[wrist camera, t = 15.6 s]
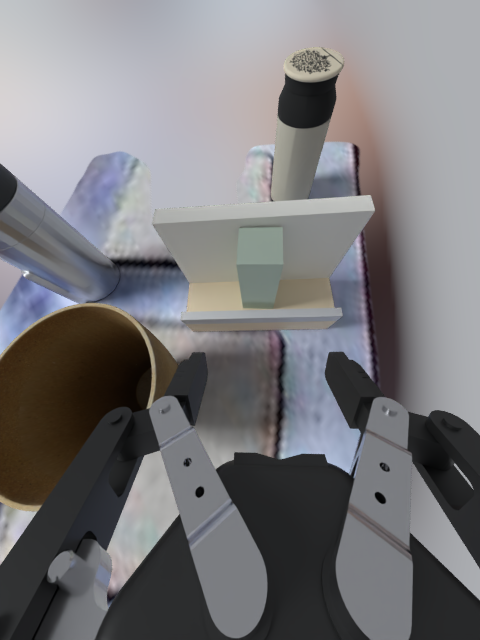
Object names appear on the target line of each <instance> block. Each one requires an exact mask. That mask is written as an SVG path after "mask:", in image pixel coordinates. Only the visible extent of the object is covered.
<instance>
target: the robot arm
mask: <svg viewBox="0 0 480 640" xmlns="http://www.w3.org/2000/svg"><path fill="white" fill-rule="evenodd" d="M0 259H1V260H3V261H5V262H7V263H9V264H11V265H13V266H15V267H17V268H19V269H20V270H21V272H22V274H23V276H24V277H25V278H26V279H28V280H30V281H32V282H34V283H36V284H38V285H40V286H43V287H45V288H47V289H49V290H51V291H53V292H55V293H57V294H59V295H61V296H64V297H66V298H68V299H70V300H72V301H74V302H76V303H78V304H83V303H87V302H93V301H98V300H100V299H103V298H105V297H106V296H108V295H109V294H110V293H111V292H112V291H113V290H114V289H115V287H116V286H117V284H118V281H119V276H120V273H119V269H118V267H117V266H116V265H115V264H114V263H113V262H112V261H111V260H110V259H109V258H108V257H106V256H105V255H104V254H103V253H102V252H101V251H99V250H98V249H97V248H96V247H95V246H94V245H93V244H92V243H90V242H89V241H88V240H87V239H86V238H85V237H84V236H82V235H81V234H80V233H79V232H78V231H77V230H76V229H74V228H73V227H72V226H71V225H70V224H69V223H68V222H66V221H65V220H64V219H63V218H62V217H61V216H60V215H59V214H57V213H56V212H55V211H54V210H53V209H51V207H49V206H48V205H47V204H46V203H45V202H44V201H43V200H41V199H40V198H39V197H38V196H37V195H36V194H35V193H33V192H32V191H31V190H30V189H29V188H28V187H26V186H25V185H24V184H23V183H22V182H21V181H20V180H19V179H17V178H16V177H15V176H14V175H13V174H12V173H11V172H10V171H8V170H7V169H6V168H5V167H4V166H3V165H1V164H0ZM207 375H208V372H207V364H206V357H205V353H204V352H193V353H192V355H191V357H190V359H189V360H184V361H183V362H182V363H181V364H180V365H179V366H178V368H177V370H176V373H175V374H174V376H173V378H172V380H171V382H170V384H169V386H168V388H167V390H166V392H165V394H164V396H163V397H161V398H159V399H158V400H156V401H155V402H154V403H153V404H152V405H151V407H150V408H148V409H145V410H141V411H137V412H134V413H132V411H131V409H130V408H128V407H119V408H116V409H114V410H112V411H110V412H109V413H107V414H106V415H105V416H104V417H103V418H102V419H101V421H100V422H99V424H98V425H97V426H96V428H95V429H94V431H93V432H92V434H91V435H90V437H89V438H88V439H87V441H86V442H85V444H84V445H83V447H82V448H81V450H80V451H79V452H78V454H77V455H76V457H75V458H74V460H73V461H72V463H71V464H70V466H69V467H68V468H67V470H66V471H65V473H64V474H63V476H62V477H61V479H60V480H59V481H58V483H57V484H56V486H55V487H54V489H53V490H52V492H51V493H50V494H49V496H48V497H47V499H46V500H45V502H44V503H43V505H42V506H41V507H40V509H39V510H38V512H37V513H36V515H35V516H34V518H33V519H32V521H31V522H30V523H29V525H28V526H27V528H26V529H25V531H24V532H23V534H22V535H21V536H20V538H19V539H18V541H17V542H16V544H15V545H14V547H13V548H12V549H11V551H10V552H9V554H8V555H7V557H6V558H5V560H4V561H3V562H2V564H1V565H0V640H480V600H479V599H478V598H477V597H476V596H475V595H473V593H472V592H471V591H469V590H468V589H467V588H466V587H465V586H464V585H463V584H462V583H461V582H460V581H459V580H458V579H457V578H456V577H455V576H454V575H453V574H452V573H451V572H450V571H449V570H448V569H447V568H446V567H445V566H444V565H443V564H442V563H441V562H440V561H438V559H437V558H435V556H433V555H432V554H431V553H430V552H429V551H428V550H427V549H426V548H425V547H424V546H423V545H422V544H421V543H420V542H419V541H418V540H417V539H416V538H415V537H414V536H413V535H412V534H411V533H410V507H411V476H412V475H411V474H412V462H413V464H414V465H415V467H416V468H417V470H418V471H419V473H420V475H421V476H422V478H423V479H424V481H425V482H426V484H427V486H428V487H429V489H430V490H431V492H432V493H433V495H434V497H435V498H436V500H437V501H438V503H439V505H440V506H441V508H442V509H443V511H444V512H445V514H446V515H447V517H448V519H449V520H450V522H451V524H452V525H453V527H454V528H455V530H456V532H457V533H458V535H459V536H460V538H461V539H462V541H463V543H464V544H465V546H466V547H467V549H468V551H469V552H470V554H471V555H472V557H473V558H474V560H475V562H476V563H477V565H478V566H479V568H480V435H479V434H478V433H477V432H476V431H475V430H474V429H473V428H472V427H471V426H470V425H468V424H467V423H466V422H465V421H464V420H462V419H460V418H459V417H457V416H455V415H453V414H451V413H448V412H445V411H439V410H435V411H432V412H431V413H430V415H429V416H428V417H426V416H422V415H418V414H414V413H410V412H407V410H406V409H405V408H404V407H403V406H402V405H401V404H399V403H398V402H396V401H394V400H392V399H389V398H386V397H385V396H384V395H383V393H382V392H381V391H380V390H379V388H378V387H377V386H376V384H375V383H374V382H373V381H372V379H371V378H370V377H369V376H368V374H367V373H365V371H364V369H363V368H362V367H361V365H359V364H358V363H356V362H355V361H353V360H349V359H348V357H347V356H346V355H345V353H344V352H329V355H328V359H327V364H326V369H325V377H326V381H327V383H328V385H329V387H330V389H331V391H332V393H333V395H334V397H335V399H336V401H337V403H338V405H339V407H340V409H341V411H342V413H343V415H344V417H345V419H346V421H347V423H348V425H349V427H350V428H352V429H359V430H360V432H361V434H360V437H359V440H358V444H357V447H356V451H355V455H354V458H353V462H352V466H351V469H350V472H349V474H348V473H347V472H345V471H344V470H342V469H340V468H339V467H337V466H335V465H332V464H330V463H327V460H326V457H325V454H300V455H296V456H293V457H289V458H286V459H282V460H278V459H275V458H271V457H268V456H265V455H261V454H258V453H237V452H235V453H234V460H232V461H229V462H227V463H225V464H223V465H221V466H220V467H218V468H217V469H216V470H215V468H214V466H213V464H212V462H211V460H210V458H209V456H208V454H207V452H206V450H205V448H204V446H203V444H202V443H201V441H200V439H199V437H198V435H197V433H196V431H195V429H194V428H193V427H191V426H195V423H196V419H197V415H198V411H199V408H200V404H201V400H202V397H203V393H204V389H205V385H206V382H207ZM159 450H160V451H161V455H162V458H163V461H164V464H165V468H166V471H167V474H168V477H169V481H170V484H171V487H172V490H173V494H174V497H175V500H176V503H177V507H178V510H179V513H180V514H179V515H178V517H177V518H176V519H175V521H174V522H173V523H172V524H171V526H170V527H169V528H168V529H167V531H166V532H165V533H164V535H163V536H162V537H161V538H160V540H159V541H158V542H157V544H156V545H155V546H154V547H153V549H152V550H151V551H150V552H149V554H148V555H147V556H146V558H145V559H144V560H143V561H142V563H141V564H140V565H139V567H138V568H137V569H136V570H135V572H134V573H133V574H132V576H131V577H130V578H129V579H128V581H127V582H126V583H125V584H124V586H123V587H122V588H121V590H120V591H119V593H118V594H117V596H116V597H115V599H114V600H113V602H112V604H111V605H110V607H109V609H108V606H107V590H108V585H109V581H110V577H111V572H112V560H111V557H110V555H109V554H108V553H107V552H106V550H107V548H108V545H109V543H110V540H111V538H112V535H113V533H114V530H115V528H116V525H117V523H118V520H119V518H120V515H121V513H122V510H123V508H124V505H125V502H126V500H127V497H128V495H129V492H130V490H131V487H132V485H133V482H134V480H135V477H136V475H137V472H138V470H139V467H140V465H141V462H142V460H143V457H144V455H147V454H150V453H153V452H156V451H159ZM454 463H455V464H456V465H457V466H458V467H459V469H460V470H461V471H462V472H463V473H464V475H465V476H466V477H467V478H468V480H469V481H470V482H471V484H472V486H473V489H474V490H473V489H472V488H471V486H470V485H469V484H468V483H467V481H466V480H465V479H464V478H463V476H462V475H461V474H460V472H459V471H458V470H457V469H456V467H455V466H454V465H453V464H454Z"/></svg>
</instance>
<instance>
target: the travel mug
mask: <svg viewBox="0 0 480 640" xmlns="http://www.w3.org/2000/svg"><path fill="white" fill-rule="evenodd" d="M343 66H344V58H343V56H342V55H341V54H340V53H338V52H337V51H334V50H332V49H328V48H320V47H313V48H306V49H302V50H299V51H296V52H294V53H292V54H291V55H290V56H288V58H287V59H286V60H285V62H284V72H285V85H284V88H283V90H282V92H281V94H280V97H279V105H278V117H277V129H276V140H275V152H274V164H273V176H272V188H271V197H272V199H273V201H290V200H305V199H308V197H309V194H310V190H311V187H312V183H313V180H314V176H315V173H316V169H317V165H318V162H319V158H320V155H321V151H322V148H323V144H324V141H325V137H326V134H327V130H328V126H329V123H330V119H331V116H332V112H333V109H334V105H335V102H336V90H335V89H336V88H335V83H336V80H337V78H338V75H339V73H340V72H341V70H342V69H343Z"/></svg>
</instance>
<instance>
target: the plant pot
mask: <svg viewBox="0 0 480 640" xmlns="http://www.w3.org/2000/svg"><path fill="white" fill-rule="evenodd" d="M177 368H178V365H177V363H176V361H175V360H174V358H173V357H172V355H171V354H170V353H169V351H168V350H167V349H166V348H165V346H164V345H163V344H162V343H161V342H160V341H159V340H158V339H157V338H156V337H155V336H154V335H153V334H152V333H151V332H150V331H149V330H148V329H146V328H145V327H144V326H143V325H142V324H141V323H139V322H138V321H137V320H136V319H135V318H133V317H132V316H131V315H129V314H128V313H127V312H125V311H123V310H121V309H119V308H117V307H114V306H111V305H107V304H101V303H83V304H77V305H72V306H68V307H65V308H62V309H59V310H57V311H54V312H52V313H50V314H48V315H46V316H45V317H43V318H41V319H39V320H38V321H36V322H35V323H33V324H32V325H31V326H29V327H28V328H27V329H25V330H24V331H23V332H22V333H21V334H20V335H19V336H17V337H16V338H15V339H14V340H13V341H12V342H11V343H10V345H9V346H8V347H7V348H6V349H5V350H4V351H3V353H2V354H1V355H0V502H2V503H4V504H5V505H7V506H9V507H12V508H15V509H19V510H23V511H38V510H39V509H40V507H41V506H42V505H43V503H44V502H45V500H46V499H47V497H48V496H49V494H50V493H51V492H52V490H53V489H54V487H55V486H56V484H57V483H58V481H59V480H60V479H61V477H62V476H63V474H64V473H65V471H66V470H67V468H68V467H69V466H70V464H71V463H72V461H73V460H74V458H75V457H76V455H77V454H78V452H79V451H80V450H81V448H82V447H83V445H84V444H85V442H86V441H87V439H88V438H89V437H90V435H91V434H92V432H93V431H94V429H95V428H96V426H97V425H98V424H99V422H100V421H101V419H102V418H103V417H104V416H105V415H106V414H107V413H109V412H110V411H112V410H114V409H116V408H119V407H128V408H130V409H131V411H132V413H134V412H137V411H141V410H145V409H148V408H150V407H151V405H152V404H153V403H154V402H155V401H156V400H158V399H159V398H161V397H163V396H164V394H165V392H166V390H167V388H168V386H169V384H170V382H171V380H172V378H173V376H174V374H175V373H176V370H177ZM151 374H152V377H151Z"/></svg>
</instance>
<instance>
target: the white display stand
mask: <svg viewBox="0 0 480 640" xmlns="http://www.w3.org/2000/svg"><path fill="white" fill-rule="evenodd" d="M374 212H375V209H374V205H373V202H372V199H371V196H370V195H366V196H351V197H335V198H320V199H305V200H290V201H274V202H259V203H244V204H229V205H213V206H198V207H183V208H169V209H168V208H167V209H155V212H154V217H153V222H152V225H153V226H154V228H155V229H156V231H157V232H158V234H159V236H160V237H161V239H162V240H163V242H164V244H165V245H166V247H167V248H168V250H169V252H170V253H171V255H172V256H173V258H174V260H175V261H176V263H177V264H178V266H179V267H180V269H181V271H182V272H183V274H184V275H185V277H186V279H187V280H188V282H189V293H188V303H187V312H181V321H182V322H183V323H184V324H186V325H187V326H188V327H189V328H190V329H191V330H192V331H193V332H200V331H250V330H299V329H327V328H329V327H330V326H331V325H332V324H334V323H335V322H336V321H337V320H339V319H340V318H341V317H342V316H343V314H342V309H341V308H334V302H333V297H332V291H331V285H330V280H329V278H330V276H331V275H332V273H333V272H334V270H335V269H336V267H337V266H338V264H339V263H340V261H341V260H342V258H343V257H344V256H345V254H346V253H347V251H348V250H349V248H350V247H351V245H352V244H353V242H354V241H355V239H356V238H357V236H358V235H359V234H360V232H361V231H362V229H363V228H364V226H365V225H366V223H367V222H368V220H369V219H370V217H371V216H372V214H373V213H374ZM263 227H283V269H282V273H281V277H280V281H279V286H278V290H277V294H276V298H275V303H274V307H273V309H251V308H243V306H242V299H241V292H240V286H239V279H238V272H237V266H236V262H237V247H238V233H239V228H263Z"/></svg>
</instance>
